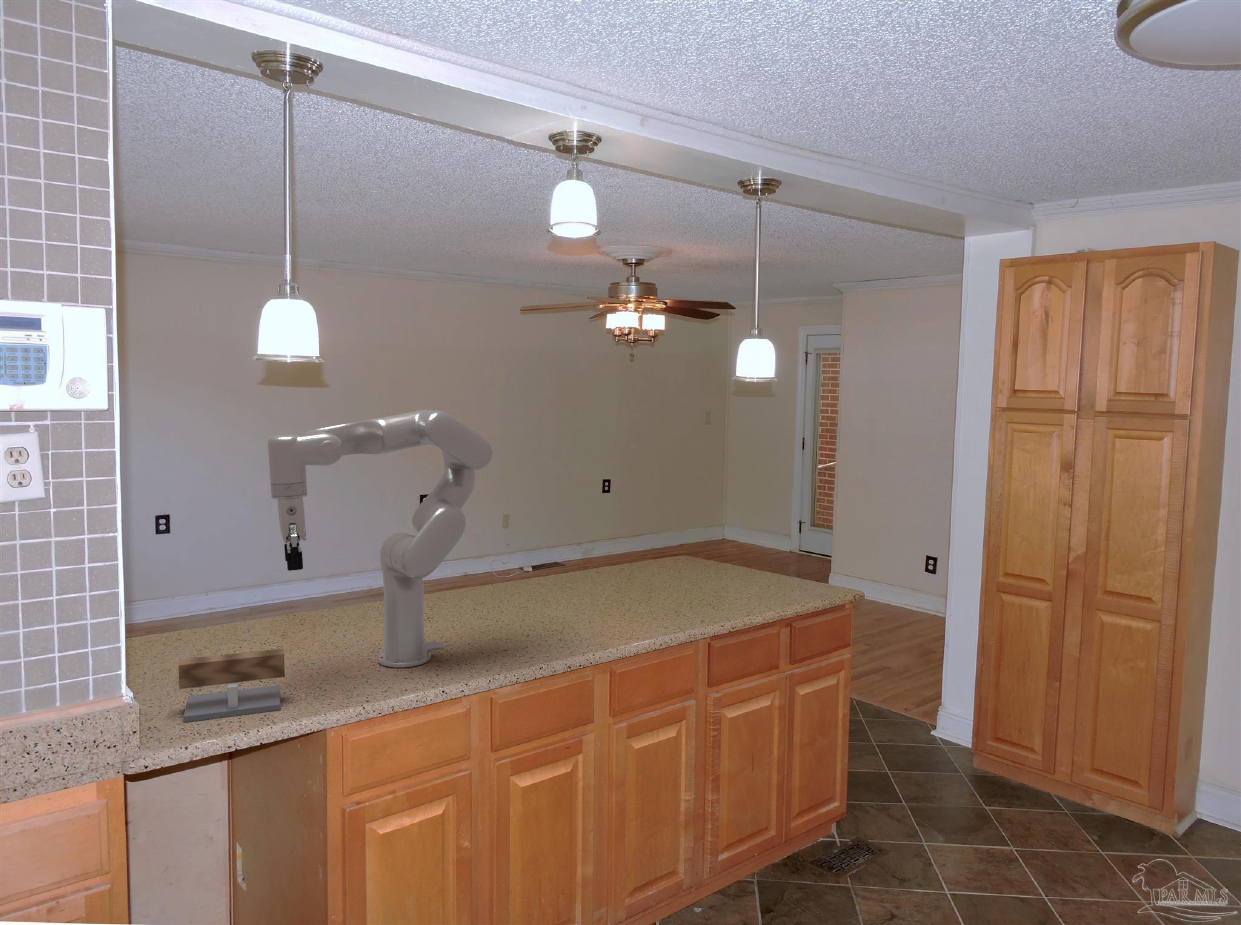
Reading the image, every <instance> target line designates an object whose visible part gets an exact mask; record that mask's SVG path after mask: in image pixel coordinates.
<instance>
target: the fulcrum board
mask: <svg viewBox="0 0 1241 925" xmlns="http://www.w3.org/2000/svg"><path fill="white" fill-rule="evenodd" d="M239 683H240V682H236V683H227V690H226V691H219V692H211V693H210V692H209V693H201V694H200V693H199V694H194V695H188V696H187V699H186V703H185V709H184V713H183V723H188V722H189V723H190V722H197V721H206V720H212V719H213V720H214V719H221V718H229V717H235V716H244V715H249V714H250V715H251V714H260V713H261V714H262V713H267V712H274V711H281V697H280V696H281V695H280V685H279V684H277V685H271V686H270V685H269V686H267V685H266V686H259V687H252V688H245V689H244V688H242V689H239V686H240V685H239Z"/></svg>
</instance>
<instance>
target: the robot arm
mask: <svg viewBox="0 0 1241 925" xmlns="http://www.w3.org/2000/svg"><path fill="white" fill-rule="evenodd" d="M428 445H431V446H436V447H437V448H439V449H440V450H441V452H442V453H441V455H442V458H443V474H442V476H441V478H440V479H439V481H438V482H437V484H436V485H435V487H434V488H432V490H431V491H430V492H429V494H428V495H427V496H426V497H425V498H424V500H422V502H421V503H420V504H419V505H418V506H417V508H416V509H415V511H414V512H413V514H412V518H411V521H412V522H411V523H412V526H413V528H414V529H415V531H417V533H416V534H415V535H414V534H411V533H409V532H401V531H400V532H395V533H392V534H390V535H389V536H388V537H386V539H385V540H384V541H383V543H382V544H381V549H380V553H379V556H380V558H379V559H380V566H381V572H382V580H383V626H384V628H383V629H384V630H383V632H384V634H383V635H384V641H383V642H384V651H383V652H380V654H379V655H378V656H377V661H378V663H379V664H380V665H382V666H385V667H388V668H411V667H416V666H419V665H423V664H426V663H427V662H429V661H430V660H431V658H432V657H431V656H432V655H431V652H432V651H442V650H443V651H444V647H445V646H444V641H438V642H437V640H431V641H428V640H426V639H425V614H424V613H425V606H424V605H425V587H424V579H425V578H427V577H429V576H430V575H432V573H434V571H436V570H437V568H438V567H439V566H440V565H441V563H442V562H443V561H444V560H445V559H446V558H447V557H448V554H450V553H451V552H452V550H453V549H454V547H455V546H456V545H457V544H458V542H459V541H460V540H461V538H462V536H463V535H464V532H465V530H466V525H467V524H466V523H467V521H466V516H465V513H464V511H463V510H462V508H463V507H464V505H465V504H466V503H467V502H468V500H469V498H471V496H472V493H473V490H474V488H475V482H476V480H475V479H476V471H479V470H480V471H481V470H482V469H485V468H486V467H488V465H489V464H491V462H492V459H493V455H494V454H493V448H492V445H491V443H490V442H489V441H488V439H486V437H484V436H483V435H481V434H480V433H479V432H477V431H475V430H474V429H473V428H471V427H469V426H468V425H466V424H465V423H464V422H462V421H461V420H459V419H458V418H457V417H455V416H453V415H452V414H450V413H448V412H446V411H443V410H436V409H419V410H414V411H410V412H405V413H398V414H395V415H394V414H393V415H389V416H385V417H378V418H371V419H365V420H361V421H355V422H350V423H343V424H338V425H337V424H336V425H331V426H326V427H319V428H316V429H310V430H307V431H305V432H303V433H302V434H301V435H299V434H292V433H291V434H289V433H288V434H278V435H277V434H276V435H272V436H270V437H269V439H268V440H267V450H268V451H267V452H268V466H269V468H268V469H269V482H270V496H271V499H274V500H277V508H278V509H277V510H278V511H277V512H278V521H279V527H280V528H279V529H280V534H281V538H282V541H283V543H284V544H283V545H284V548H283V549H284V557H285V558H284V559H285V562H286V565H287V571H289V572H291V571H299V570H303V569H304V560H303V551H302V546H301V540H303V542H306V540H307V528H306V527H307V526H306V515H305V504H304V498H305V497H307V496H308V485H307V484H308V481H307V469H306V468H307V467H306V466H320V467H327V466H331V465H334V464H336V463H337V462H338V461H340V459H341V458H342V457H344V456H350V455H360V454H362V455H381V454H382V455H383V454H389V453H393V452H397V451H402V450H406V449H410V448H416V447H417V448H418V447H421V446H428Z"/></svg>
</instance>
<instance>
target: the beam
mask: <svg viewBox="0 0 1241 925" xmlns="http://www.w3.org/2000/svg"><path fill="white" fill-rule="evenodd" d="M285 673H286V672H285V648H275V649H266V650H265V649H264V650H256V651H247V652H237V653H235V652H234V653H228V654H227V653H226V654H222V655H221V654H215V655H209V656H206V655H205V656H197V657H189V658H180V659H179V661H178V687H179V688H178V689H179V690H183V689H192V688H193V689H194V688H200V687H208V686H218V685H224V684H225V685H226V684H227V685H228V683H236V682H239V683H242V682H251V681H260V680H270V679H278V678H285V677H286V674H285Z"/></svg>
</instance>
